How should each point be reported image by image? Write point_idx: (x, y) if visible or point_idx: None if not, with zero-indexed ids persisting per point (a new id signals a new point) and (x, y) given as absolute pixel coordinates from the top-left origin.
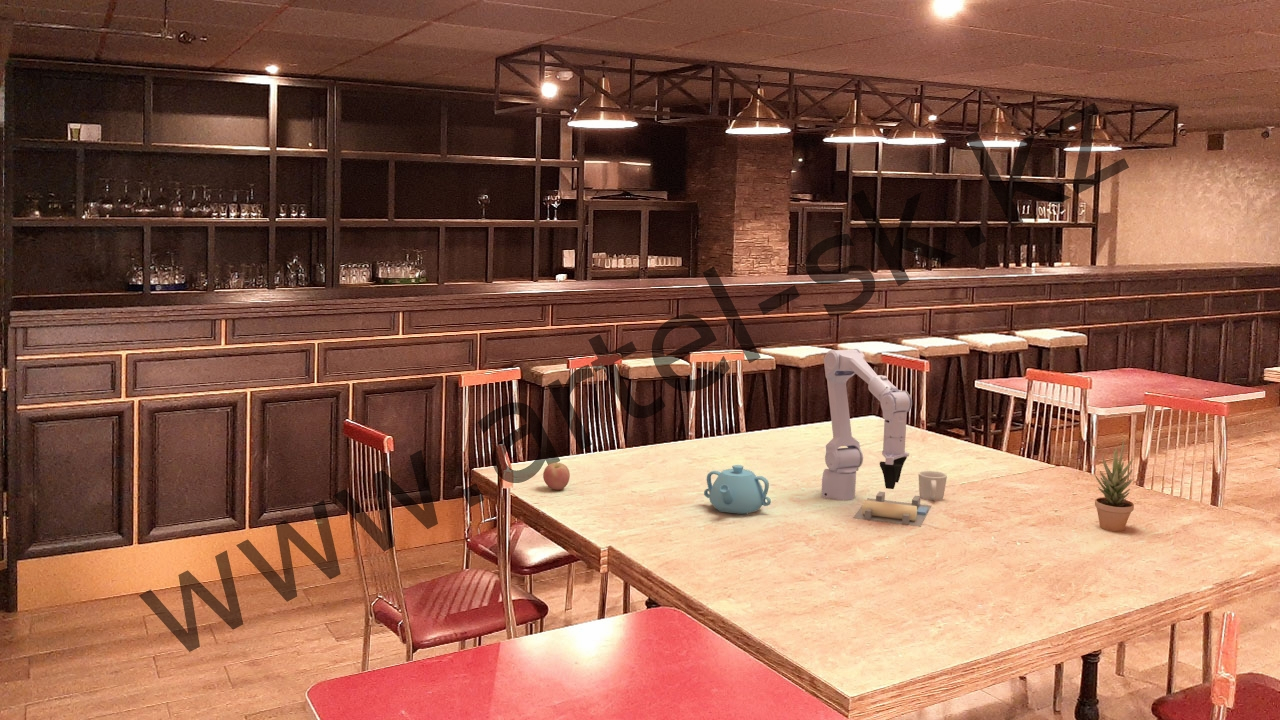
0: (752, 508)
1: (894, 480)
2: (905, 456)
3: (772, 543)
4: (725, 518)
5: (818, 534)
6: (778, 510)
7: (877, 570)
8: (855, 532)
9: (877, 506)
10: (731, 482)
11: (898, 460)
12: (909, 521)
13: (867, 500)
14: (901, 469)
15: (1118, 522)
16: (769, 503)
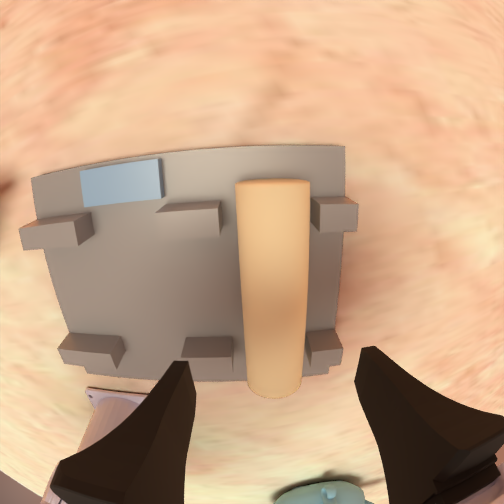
0: (351, 485)
1: (409, 379)
2: (69, 494)
3: (481, 398)
4: (368, 481)
5: (442, 377)
6: (293, 470)
7: None
8: (422, 327)
9: (302, 346)
10: None
11: (156, 501)
12: (317, 197)
13: (275, 389)
14: (145, 418)
15: None
16: (333, 486)
